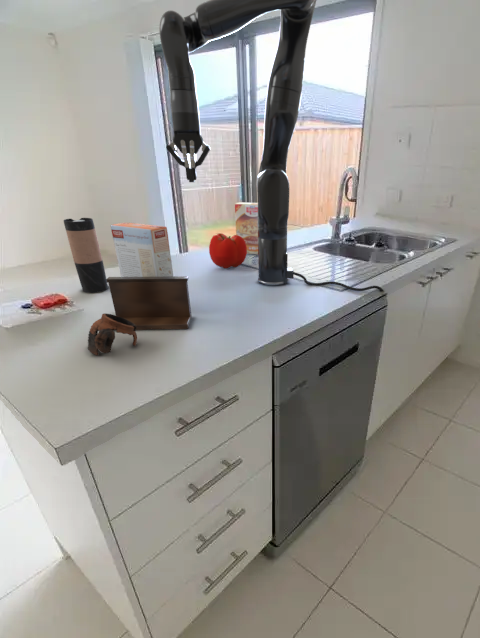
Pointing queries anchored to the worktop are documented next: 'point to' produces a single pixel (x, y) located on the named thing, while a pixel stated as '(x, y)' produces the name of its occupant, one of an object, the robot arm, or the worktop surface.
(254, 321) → the worktop surface
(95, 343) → the brown arched piece
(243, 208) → the coffeecake box
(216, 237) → the tomato
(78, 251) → the travel mug
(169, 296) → the walnut backstop
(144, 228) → the cracker box
